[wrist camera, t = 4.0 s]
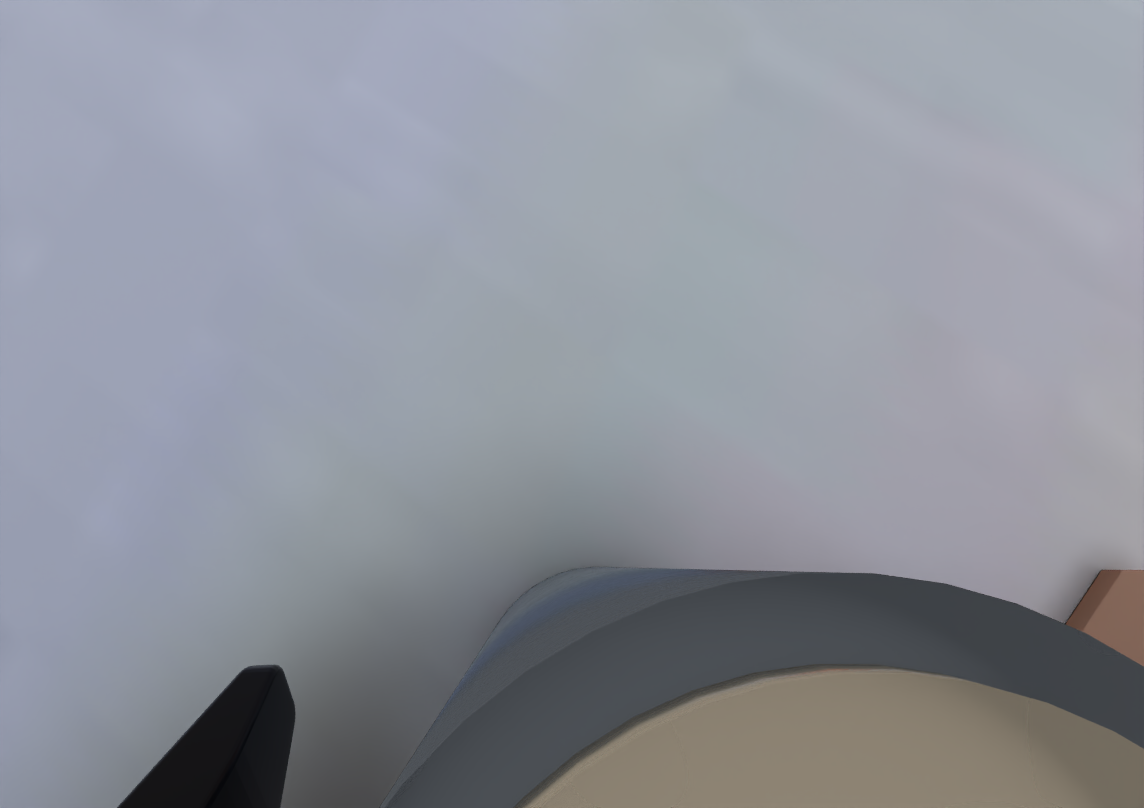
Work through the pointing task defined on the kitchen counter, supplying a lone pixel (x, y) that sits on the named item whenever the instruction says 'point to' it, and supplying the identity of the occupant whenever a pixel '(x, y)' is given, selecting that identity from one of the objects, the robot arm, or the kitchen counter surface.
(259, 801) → the robot arm
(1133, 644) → the terracotta bin
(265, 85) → the kitchen counter surface
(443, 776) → the dark grey cylinder
